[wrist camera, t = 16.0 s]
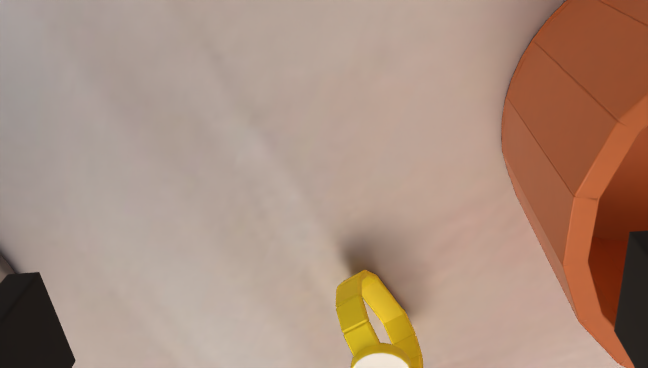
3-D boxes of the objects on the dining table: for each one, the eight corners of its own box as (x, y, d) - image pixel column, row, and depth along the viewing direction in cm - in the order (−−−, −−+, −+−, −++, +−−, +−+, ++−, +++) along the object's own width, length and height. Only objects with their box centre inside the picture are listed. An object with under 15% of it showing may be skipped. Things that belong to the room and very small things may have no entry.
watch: (429, 320, 33) (444, 406, 27) (387, 341, 33) (393, 429, 28) (369, 245, 30) (372, 323, 25) (325, 269, 31) (320, 350, 26)
